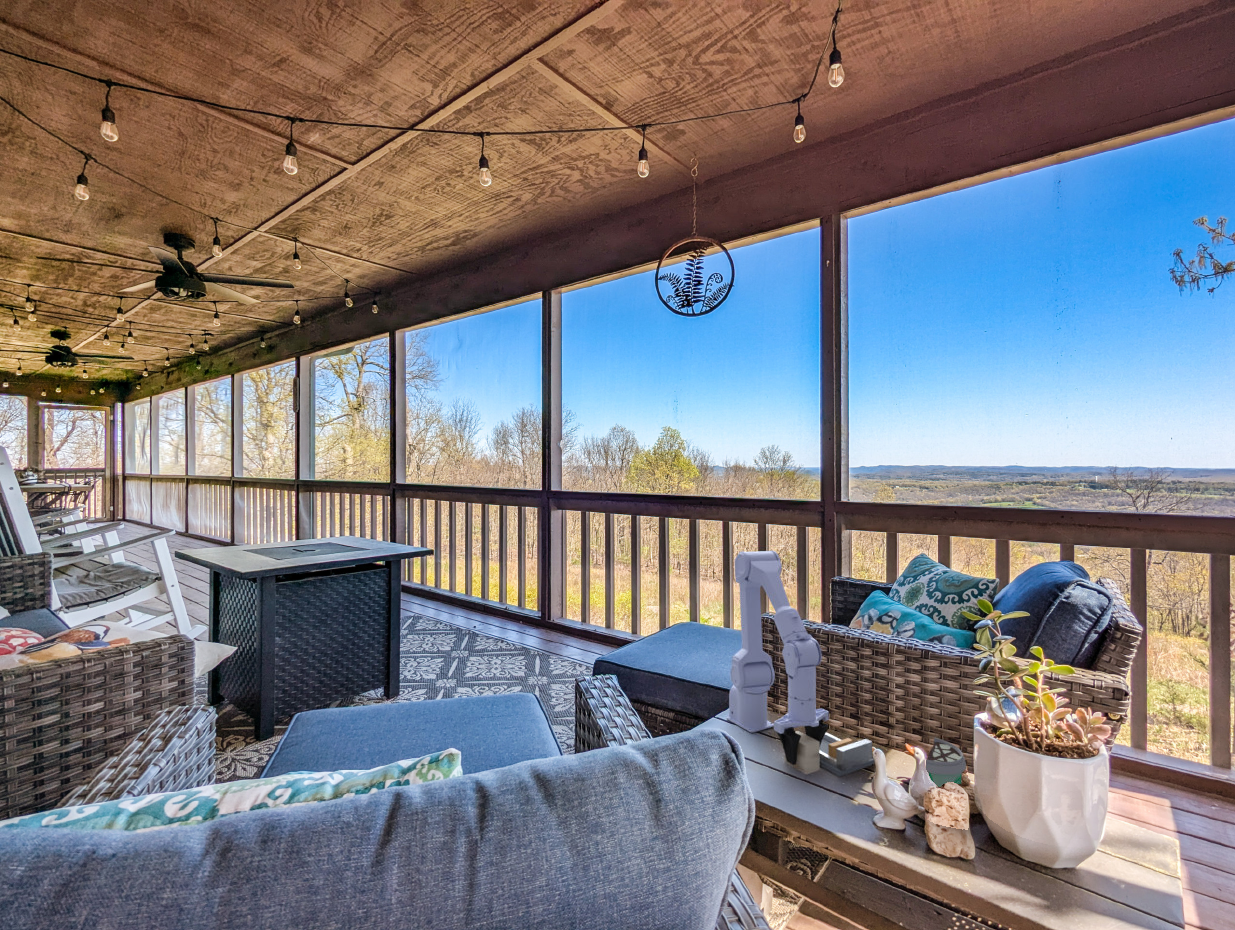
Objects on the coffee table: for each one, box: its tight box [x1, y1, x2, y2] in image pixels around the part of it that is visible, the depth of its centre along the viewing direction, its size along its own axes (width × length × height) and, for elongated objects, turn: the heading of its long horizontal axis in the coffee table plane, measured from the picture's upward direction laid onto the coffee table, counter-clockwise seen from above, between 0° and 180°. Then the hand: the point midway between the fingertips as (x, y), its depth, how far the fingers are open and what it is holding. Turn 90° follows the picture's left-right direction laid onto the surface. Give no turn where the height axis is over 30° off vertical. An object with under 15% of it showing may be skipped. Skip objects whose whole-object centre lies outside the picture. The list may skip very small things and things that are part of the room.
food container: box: [925, 737, 967, 787], centre depth 108 cm, size 12×6×10 cm, turn 143°
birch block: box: [784, 730, 821, 775], centre depth 123 cm, size 6×4×6 cm, turn 29°
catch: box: [828, 737, 854, 759], centre depth 125 cm, size 1×6×3 cm, turn 119°
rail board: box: [804, 732, 875, 777], centre depth 128 cm, size 16×11×5 cm
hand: (801, 759), depth 123 cm, fingers open, 6 cm apart
